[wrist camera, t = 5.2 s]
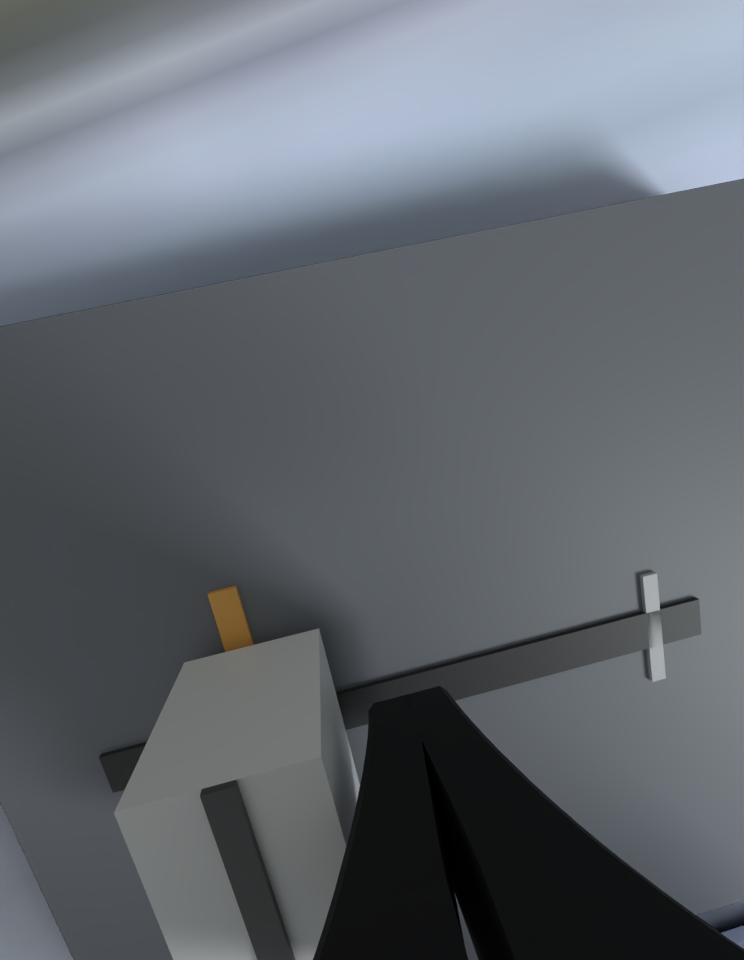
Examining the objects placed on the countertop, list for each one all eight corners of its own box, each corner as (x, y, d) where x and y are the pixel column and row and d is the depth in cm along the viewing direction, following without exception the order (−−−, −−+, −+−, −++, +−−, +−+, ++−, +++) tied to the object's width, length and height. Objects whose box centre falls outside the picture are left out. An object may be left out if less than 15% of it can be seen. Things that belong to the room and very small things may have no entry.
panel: (722, 813, 14) (795, 889, 12) (162, 981, 13) (133, 1097, 11) (688, 212, 10) (781, 169, 8) (-92, 370, 9) (-210, 367, 7)
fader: (366, 809, 9) (390, 1010, 6) (244, 843, 9) (211, 1067, 6) (319, 628, 9) (321, 762, 6) (184, 662, 8) (109, 820, 5)
